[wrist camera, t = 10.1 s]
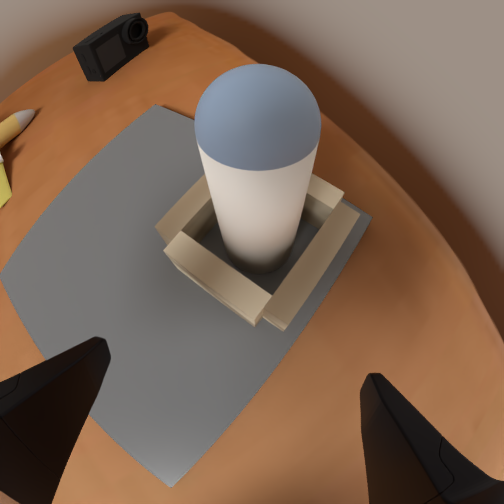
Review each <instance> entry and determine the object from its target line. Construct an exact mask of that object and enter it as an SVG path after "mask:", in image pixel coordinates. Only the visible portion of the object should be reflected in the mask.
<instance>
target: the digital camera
mask: <svg viewBox="0 0 504 504" xmlns="http://www.w3.org/2000/svg"><path fill="white" fill-rule="evenodd" d="M147 33H148V24H147V21H146V20H145V19H143V18H141V15H140V13H134V14H127V15H122V16H120V17H118V18H117V19H115V20H113V21H111V22H110V23H108V24H107V25H105V26H103V27H102V28H100V29H99V30H97V31H95V32H94V33H92V34H91V35H90V36H88V37H87V38H85V39H84V40H82V41H81V42H80V43H78V44H77V45H75V46H74V47H73V50H74V52H75V55H76V57H77V59H78V61H79V63H80V66H81V68H82V70H83V72H84V74H85V76H86V78H87V80H88V81H105V80H106V79H108V78H109V77H110V76H111V75H113V74H114V73H115V72H116V71H117V70H119V69H120V68H121V67H122V66H124V65H125V64H126V63H128V62H129V61H130V60H131V59H133V58H134V57H135V56H137V55H138V54H139V53H141V52H142V51H144V50H145V49H146V48H148V47H149V44H148V41H147V37H146V36H147ZM102 79H103V80H102Z"/></svg>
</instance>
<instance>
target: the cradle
mask: <svg viewBox="0 0 504 504" xmlns="http://www.w3.org/2000/svg"><path fill="white" fill-rule="evenodd" d="M344 193H345V192H343V191H341V190H340V189H338V188H336V187H335V186H333V185H331V184H330V183H328V182H326V181H325V180H323V179H321V178H319V177H318V176H316V175H314V174H312V173H311V177H310V181H309V186H308V190H307V194H306V198H305V202H304V206H303V210H302V213H301V217H300V218H302V219H303V220H305V221H307V222H308V223H310V224H311V225H313V226H314V227H316V228H318V229H319V231H318V233H317V234H316V235H315V237H314V238H313V240H312V241H311V243H310V244H309V245H308V247H307V248H306V250H305V251H304V253H303V254H302V255H301V257H300V258H299V260H298V261H297V262H296V264H295V265H294V267H293V268H292V269H291V271H290V272H289V274H288V275H287V276H286V278H285V279H284V280H283V282H282V283H281V285H280V286H279V287H278V289H277V290H276V291H275V293H274V294H273V295H271V294H269V293H268V292H266V291H265V290H263V289H262V288H261V287H259V286H258V285H256V284H255V283H253V282H252V281H251V280H249V279H248V278H246V277H245V276H243V275H242V274H241V273H239V272H238V271H236V270H235V269H234V268H232V267H231V266H229V265H228V264H227V263H225V262H224V261H222V260H221V259H220V258H218V257H217V256H215V255H214V254H213V253H211V252H210V251H208V250H207V249H206V248H204V247H203V246H202V245H200V244H199V242H200V241H201V240H202V239H203V238H204V237H205V236H206V234H207V233H208V232H209V231H210V230H211V229H212V228H213V226H214V225H215V224H216V223H217V222H218V220H217V216H216V213H215V209H214V205H213V202H212V198H211V194H210V190H209V186H208V183H207V179H206V175H205V174H204V175H203V176H202V177H201V178H200V179H199V180H198V181H197V182H196V183H195V184H194V185H193V186H192V187H191V188H190V189H189V190H188V191H187V192H186V193H185V194H184V195H183V196H182V197H181V198H180V200H179V201H178V202H177V203H176V204H175V205H174V206H173V207H172V208H171V209H170V210H169V211H168V212H167V213H166V214H165V216H164V217H163V218H162V219H161V220H160V221H159V222H158V223H157V224H156V225H155V228H156V230H157V231H158V233H159V234H160V235H161V237H162V238H163V240H164V241H165V243H166V244H167V245H168V246H167V247H166V248H165V249H164V250H163V251H164V252H165V253H166V255H167V256H168V257H169V259H170V260H171V261H172V262H173V264H174V265H175V266H176V267H177V269H179V270H180V271H181V272H182V273H184V274H185V275H186V276H187V277H189V278H190V279H191V280H193V281H194V282H195V283H196V284H198V285H199V286H200V287H202V288H203V289H204V290H205V291H207V292H208V293H209V294H211V295H212V296H213V297H215V298H216V299H217V300H219V301H220V302H221V303H223V304H224V305H225V306H227V307H228V308H229V309H231V310H232V311H233V312H235V313H236V314H237V315H239V316H240V317H241V318H243V319H244V320H246V321H247V322H248V323H250V324H251V325H252V326H254V327H256V326H257V324H258V323H259V322H260V320H261V319H262V318H264V319H266V320H267V321H268V322H270V323H271V324H273V325H274V326H276V327H277V328H278V329H280V330H281V331H283V332H284V330H285V329H286V328H287V326H288V325H289V324H290V322H291V321H292V319H293V318H294V316H295V315H296V314H297V312H298V311H299V309H300V308H301V306H302V305H303V304H304V302H305V301H306V299H307V298H308V296H309V295H310V293H311V292H312V290H313V289H314V287H315V286H316V284H317V283H318V281H319V280H320V278H321V277H322V275H323V274H324V272H325V271H326V269H327V268H328V266H329V264H330V263H331V261H332V260H333V258H334V257H335V255H336V253H337V252H338V250H339V249H340V247H341V246H342V244H343V242H344V241H345V239H346V237H347V236H348V234H349V233H350V231H351V229H352V228H353V226H354V224H355V223H356V221H357V219H358V218H359V216H360V213H358V212H356V211H355V210H353V209H352V208H350V207H349V206H347V205H345V204H344V203H342V202H341V200H342V197H343V195H344Z"/></svg>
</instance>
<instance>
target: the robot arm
mask: <svg viewBox="0 0 504 504" xmlns="http://www.w3.org/2000/svg"><path fill="white" fill-rule="evenodd" d="M110 361H111V354H110V350H109V347H108V344H107V341H106V339H104V338H102V337H98V336H94V337H92V338H90V339H88V340H86V341H84V342H82V343H80V344H78V345H76V346H74V347H72V348H70V349H68V350H66V351H64V352H62V353H60V354H58V355H56V356H54V357H52V358H50V359H48V360H46V361H44V362H42V363H40V364H37V365H35V366H33V367H31V368H29V369H27V370H25V371H23V372H21V373H19V374H17V375H15V376H13V377H11V378H9V379H6V380H4V381H2V382H0V504H52V501H53V498H54V496H55V493H56V490H57V488H58V485H59V482H60V479H61V477H62V474H63V472H64V469H65V467H66V464H67V462H68V460H69V457H70V455H71V452H72V450H73V448H74V445H75V443H76V441H77V439H78V436H79V434H80V432H81V430H82V427H83V425H84V423H85V421H86V419H87V417H88V415H89V412H90V410H91V408H92V406H93V404H94V402H95V400H96V398H97V396H98V393H99V391H100V388H101V385H102V383H103V380H104V377H105V374H106V372H107V369H108V367H109V364H110ZM360 408H361V433H362V441H363V449H364V457H365V465H366V474H367V483H368V494H369V504H504V481H500V480H496V479H493V478H491V477H490V476H488V475H487V474H485V473H484V472H483V471H482V470H480V469H479V468H478V467H477V466H475V465H474V464H473V463H472V462H470V461H469V460H468V459H467V458H466V457H464V456H463V455H462V454H461V453H460V452H459V451H458V450H457V449H455V448H454V447H453V446H452V445H451V444H450V443H449V442H448V441H447V440H446V439H445V438H444V437H443V436H442V435H441V434H440V433H439V432H438V431H437V430H436V429H435V428H434V427H433V426H432V425H431V423H430V422H429V421H428V420H427V419H426V418H425V417H424V416H423V415H422V414H421V413H420V412H419V411H418V410H417V409H416V408H415V407H414V406H413V405H412V404H411V403H410V402H409V401H408V400H407V399H406V398H405V397H404V396H403V395H402V394H401V393H400V392H399V391H398V390H397V389H396V388H395V387H394V386H393V385H392V384H391V383H390V382H389V381H388V380H387V379H386V378H385V377H384V376H383V375H382V374H381V373H369V374H368V375H367V377H366V379H365V381H364V383H363V385H362V388H361V390H360Z"/></svg>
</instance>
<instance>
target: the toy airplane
mask: <svg viewBox="0 0 504 504" xmlns="http://www.w3.org/2000/svg"><path fill="white" fill-rule="evenodd" d="M34 114H35V111H34V110H32V109H29V110H24V111H20V112H17V113H14V114H12V115H11V116H10V117H8V118H7V119H5V120H4V121H3V122H1V123H0V148H2V147H3V146H4V145H5V144H7V143H8V142H9V141H10V140H12V139H13V138H14V137H16V136H17V135H18V134H20V133H21V132H22V131H23V130H24V128H25V127H26V126H27V125H28V124H29V122H30V121H31V120H32V118H33V116H34ZM3 162H4V161H3V158H2V156H1V153H0V208H1V207H2V206H3V205H4V204H5V203H6V202H7V201H8V200H9V199H10V197H11V196H12V192H11V189H10V185H9V182H8V179H7V176H6V172H5V169H4V165H3Z"/></svg>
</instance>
